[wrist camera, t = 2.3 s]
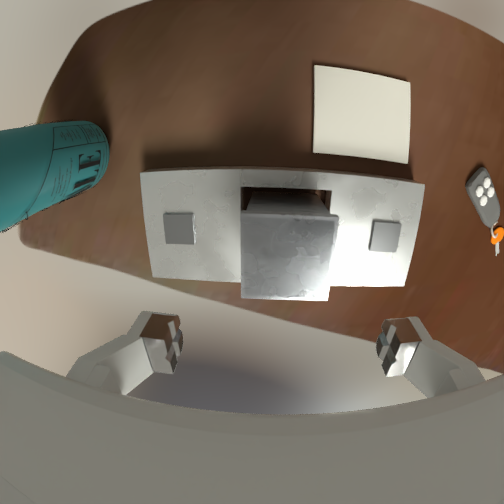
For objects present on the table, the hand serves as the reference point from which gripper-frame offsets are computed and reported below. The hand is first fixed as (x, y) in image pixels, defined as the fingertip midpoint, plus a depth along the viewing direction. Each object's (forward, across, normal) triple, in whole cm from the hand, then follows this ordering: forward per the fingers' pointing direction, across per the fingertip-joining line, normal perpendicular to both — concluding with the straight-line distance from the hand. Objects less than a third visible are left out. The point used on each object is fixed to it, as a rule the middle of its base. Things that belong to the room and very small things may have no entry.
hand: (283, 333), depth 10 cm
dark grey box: (+13, -1, 0) cm, 13 cm away
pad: (+13, -7, -10) cm, 17 cm away
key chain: (+13, -24, -2) cm, 27 cm away
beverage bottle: (+14, +16, -7) cm, 22 cm away
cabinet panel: (+13, -1, 0) cm, 13 cm away
